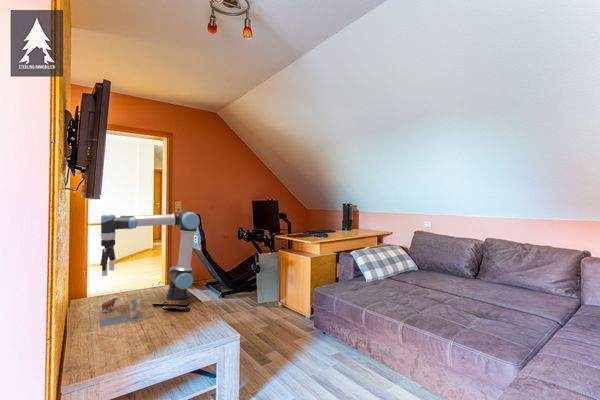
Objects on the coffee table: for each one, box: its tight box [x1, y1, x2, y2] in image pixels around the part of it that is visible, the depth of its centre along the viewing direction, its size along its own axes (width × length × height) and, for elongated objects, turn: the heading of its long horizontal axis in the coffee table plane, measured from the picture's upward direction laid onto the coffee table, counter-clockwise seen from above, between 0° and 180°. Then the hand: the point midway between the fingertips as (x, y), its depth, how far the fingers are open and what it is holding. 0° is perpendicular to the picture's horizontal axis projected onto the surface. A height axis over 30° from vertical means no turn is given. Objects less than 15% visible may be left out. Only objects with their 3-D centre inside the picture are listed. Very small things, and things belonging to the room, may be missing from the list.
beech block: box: [129, 298, 141, 319], centre depth 186 cm, size 5×5×10 cm
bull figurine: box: [101, 295, 120, 314], centre depth 196 cm, size 4×13×8 cm, turn 174°
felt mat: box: [99, 311, 144, 328], centre depth 182 cm, size 22×13×1 cm, turn 123°
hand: (108, 273), depth 188 cm, fingers open, 13 cm apart
